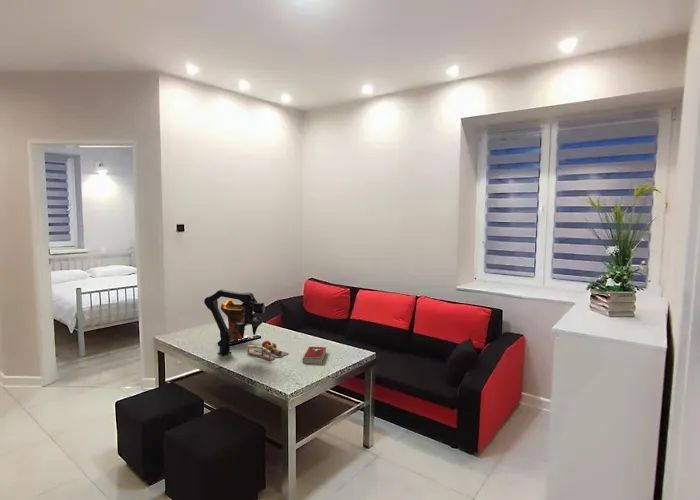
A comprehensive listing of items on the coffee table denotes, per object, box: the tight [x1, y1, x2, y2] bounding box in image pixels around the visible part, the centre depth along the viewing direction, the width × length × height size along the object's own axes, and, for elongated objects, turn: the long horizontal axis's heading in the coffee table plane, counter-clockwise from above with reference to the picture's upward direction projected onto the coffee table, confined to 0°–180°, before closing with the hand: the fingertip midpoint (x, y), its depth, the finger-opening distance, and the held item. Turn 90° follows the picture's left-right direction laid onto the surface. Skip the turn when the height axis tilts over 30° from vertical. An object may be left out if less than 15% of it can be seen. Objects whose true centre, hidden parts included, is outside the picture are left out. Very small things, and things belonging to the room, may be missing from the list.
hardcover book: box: [302, 346, 328, 364], centre depth 259 cm, size 12×21×4 cm, turn 175°
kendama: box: [261, 340, 282, 355], centre depth 266 cm, size 8×6×18 cm
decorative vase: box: [220, 298, 250, 342], centre depth 295 cm, size 21×23×28 cm
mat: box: [253, 348, 289, 359], centre depth 267 cm, size 22×10×1 cm, turn 55°
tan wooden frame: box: [246, 344, 275, 361], centre depth 259 cm, size 21×4×6 cm, turn 55°
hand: (248, 336), depth 261 cm, fingers open, 9 cm apart
